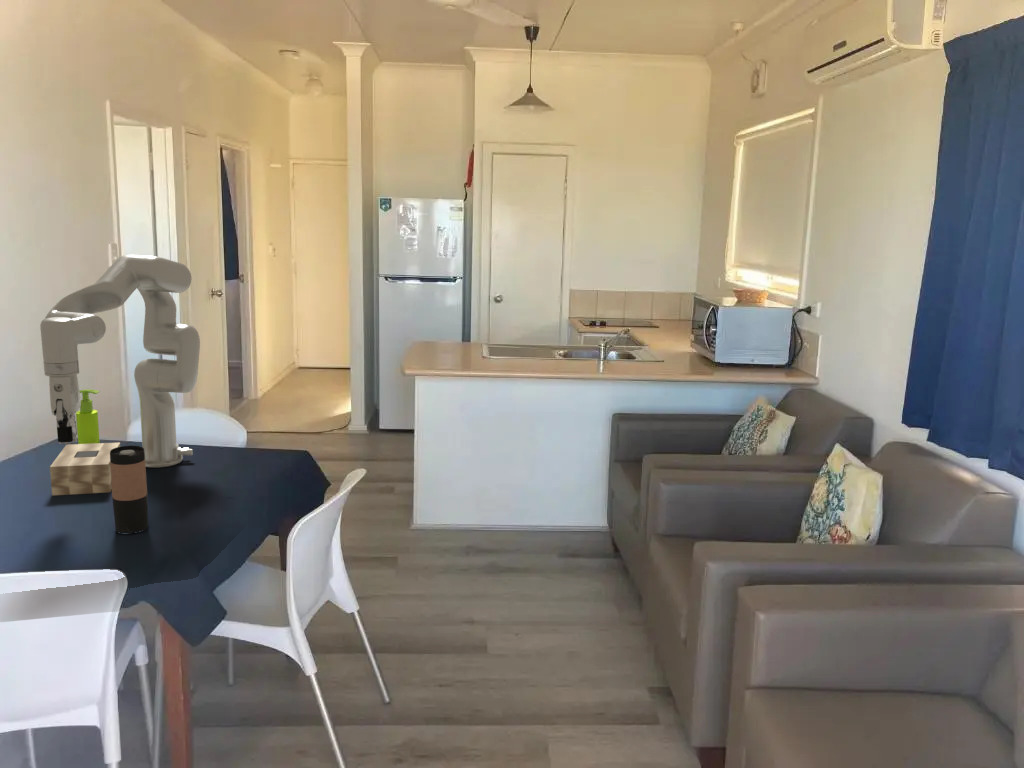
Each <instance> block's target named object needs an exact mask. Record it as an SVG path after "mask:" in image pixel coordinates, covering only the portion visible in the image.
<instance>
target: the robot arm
mask: <svg viewBox="0 0 1024 768" xmlns="http://www.w3.org/2000/svg"><path fill="white" fill-rule="evenodd" d="M192 279H193V278H192V273H191V271H190V269H189V268H188V267H187V265H185V264H183V263H182V262H177V261H175V260H171V259H167V258H164V257H160V256H156V255H155V256H154V255H144V254H143V255H141V254H125V255H122V256H119V257H118V258H117V259H116V260H115V261H114V262H113V264H111V266H109V267H108V268H107V270H106V271H105V272H104V273H103V275H102V276H100V277H99V279H97V280H96V282H94V283H93V284H90V285H88V286H84V287H83V288H80V289H79V290H76V291H74V292H72V293H70V294H68V295H66V296H65V297H63V298H61V299H60V300H59V301H57V303H56V304H55V305H53V307H52V308H51V309H50V310H49V311H48V313H47V314H46V315H45V317H44V318H43V320H41V322H40V327H39V328H40V336H41V337H40V340H41V349H42V357H43V358H42V359H43V369H44V371H43V372H44V375H45V377H49V401H50V408H51V409H50V410H51V415H52V416H54V417H56V419H55V420H56V433H57V442H58V443H59V442H72V441H73V435H72V426H70V414H71V415H74V414H75V415H76V412H77V411H79V409H80V406H81V393H79V391H80V385H79V380H78V379H79V378H78V374H80V365H79V363H80V362H79V352H78V351H79V350H78V345H84V344H87V345H89V344H94V343H96V342H98V341H100V340H101V339H102V338H103V337H104V336H105V334H106V331H107V330H106V329H107V327H106V322H105V321H104V320H103V319H102V317H100V316H98V315H96V313H97V314H98V313H103V312H108V311H113V310H115V309H117V308H120V307H121V306H123V305H124V304H125V303H126V302H127V300H128V299H129V298H130V297H131V296H132V294H133V293H134V292H135V291H136V290H137V291H138V292H139V293H140V295H141V298H142V299H143V302H144V308H145V309H144V322H143V323H144V324H143V325H144V326H143V335H142V338H143V339H142V341H143V342H142V343H143V348H144V349H145V350H146V352H147V353H150V354H153V355H154V354H155V355H160V356H161V355H163V356H175V357H176V360H173V359H164V358H146V359H143V360H141V361H139V362H138V363H137V364H136V366H135V367H134V372H133V373H134V375H133V376H134V380H135V385H136V388H137V389H136V390H137V393H138V398H139V409H140V411H139V412H140V413H139V414H140V428H141V430H140V431H141V441H142V443H141V444H142V445H141V447H143V448H144V453H145V467H146V468H166V467H167V468H168V467H171V466H175V465H177V464H180V463H182V461H183V460H184V459H183V458H184V457H183V456H193V453H194V452H193V449H192V448H189V447H183V448H181V446H179V443H177V425H176V407H175V402H174V399H173V397H172V395H171V394H170V393H176V394H188V393H191V392H192V391H193V390H194V389H195V387H196V385H197V380H198V375H199V363H200V362H199V360H200V350H201V349H200V348H201V340H200V336H199V332H198V330H197V329H196V327H194V326H192V325H191V324H185V323H177V304H176V302H175V300H174V298H173V296H172V295H171V294H172V293H173V294H174V293H175V294H177V293H178V294H181V293H184V292H186V291H187V290H189V288H190V287H191V285H192V284H191V283H192ZM63 413H67V414H63ZM64 417H67V420H66V418H64ZM75 424H76V425H77V421H76V420H75ZM76 436H78V434H77V429H76Z"/></svg>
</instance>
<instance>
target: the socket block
mask: <svg viewBox="0 0 1024 768" xmlns="http://www.w3.org/2000/svg"><path fill="white" fill-rule="evenodd" d="M117 447H121V442H100V443H94V444H78V443H72V444H65V446H64V447H63V449H62V450H61V451H60V453H59V454H58V456H57V457H56V458H55V459H54V461H53V462H52V464H51V465H50V466H49V473H50V474H49V475H50V484H51V485H50V486H51V495H52V496H64V495H65V496H67V495H70V496H71V495H84V494H85V495H86V494H99V493H103V494H104V493H112V483H111V465H110V451H111V450H112V449H114V448H117ZM85 451H98V454H97V456H96V457H77V458H75V456H76V455H77V453H78V452H85Z"/></svg>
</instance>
